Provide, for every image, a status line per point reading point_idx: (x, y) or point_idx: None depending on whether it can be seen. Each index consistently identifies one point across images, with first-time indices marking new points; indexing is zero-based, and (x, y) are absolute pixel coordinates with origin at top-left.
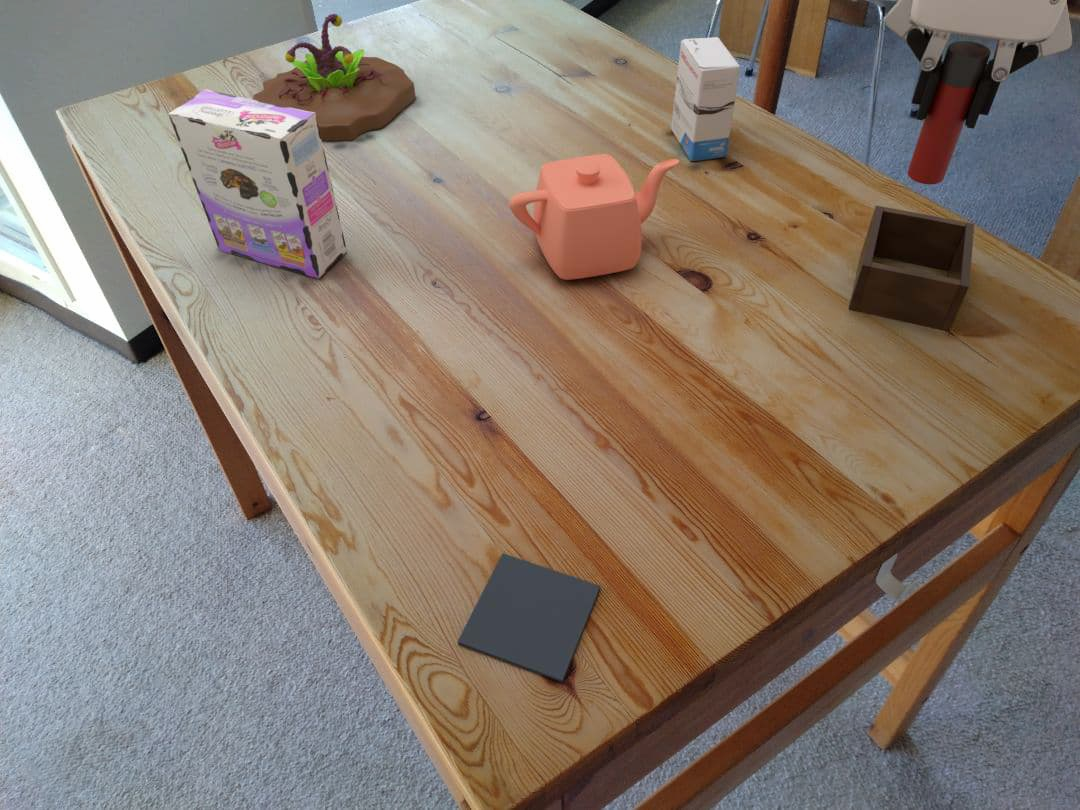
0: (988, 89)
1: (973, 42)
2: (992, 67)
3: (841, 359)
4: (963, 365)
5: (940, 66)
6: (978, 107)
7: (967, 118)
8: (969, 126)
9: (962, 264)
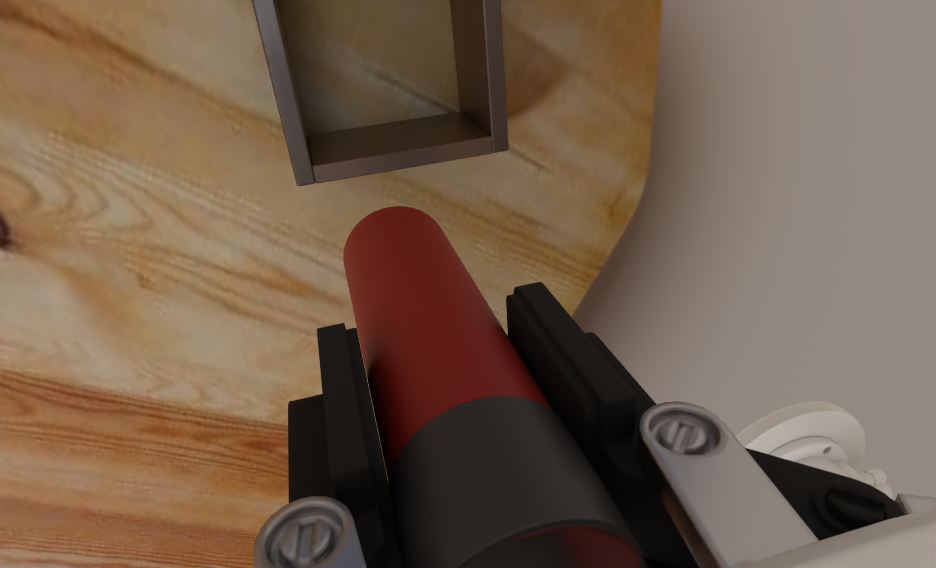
0: None
1: (552, 534)
2: None
3: (333, 281)
4: (506, 196)
5: (389, 527)
6: None
7: None
8: None
9: (488, 77)
